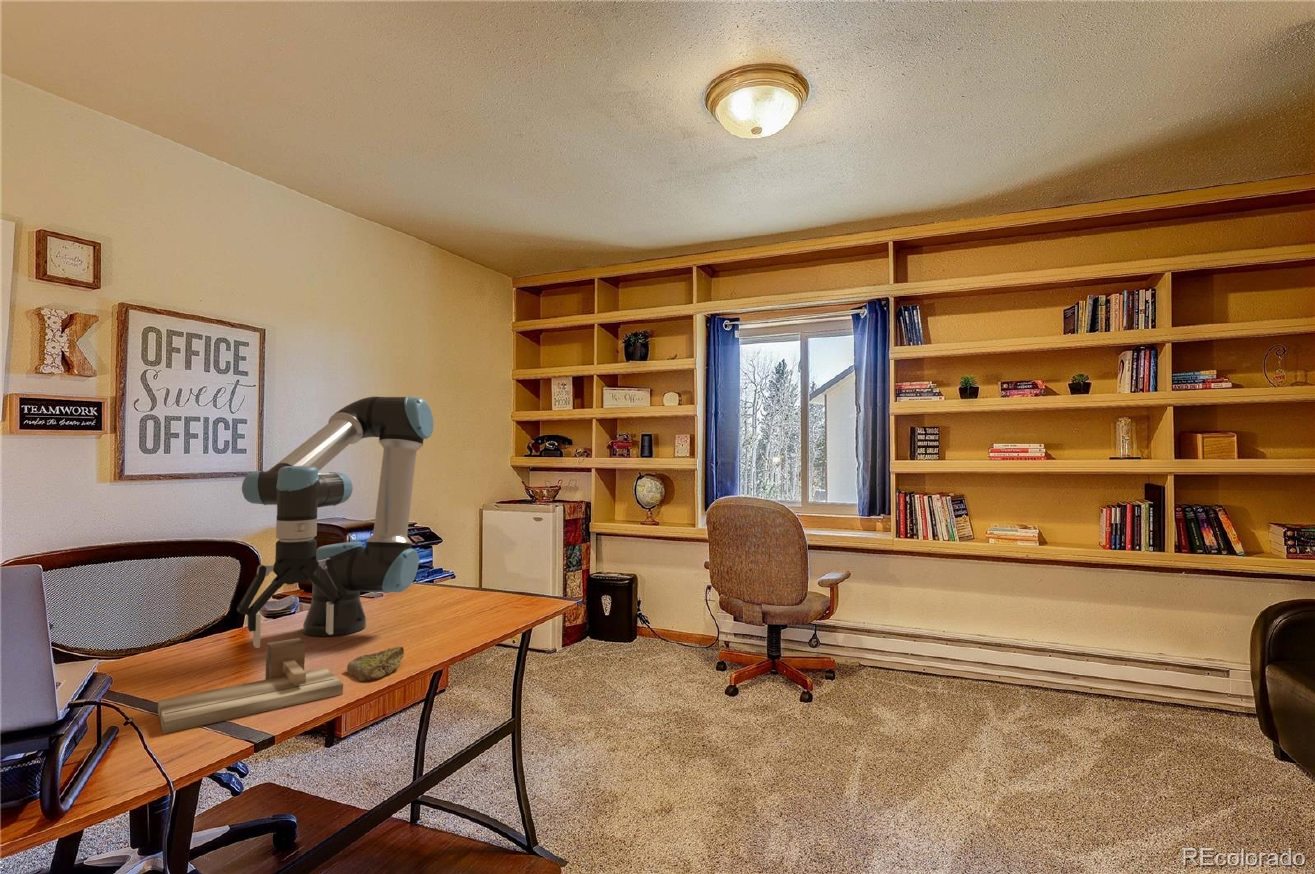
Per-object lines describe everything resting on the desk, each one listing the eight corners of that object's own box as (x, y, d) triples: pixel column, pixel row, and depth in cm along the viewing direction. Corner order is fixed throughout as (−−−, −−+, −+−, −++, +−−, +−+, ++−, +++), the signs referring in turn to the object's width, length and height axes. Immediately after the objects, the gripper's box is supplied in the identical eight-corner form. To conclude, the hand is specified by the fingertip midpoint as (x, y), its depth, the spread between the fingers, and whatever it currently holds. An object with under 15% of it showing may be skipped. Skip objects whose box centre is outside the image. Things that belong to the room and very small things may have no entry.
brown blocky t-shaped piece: (265, 681, 129) (267, 643, 129) (297, 675, 133) (299, 637, 133) (281, 704, 118) (283, 661, 118) (316, 696, 122) (318, 655, 122)
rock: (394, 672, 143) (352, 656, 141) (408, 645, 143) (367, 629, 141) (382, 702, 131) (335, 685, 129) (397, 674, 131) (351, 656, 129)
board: (157, 711, 113) (158, 700, 113) (325, 677, 132) (326, 667, 132) (163, 734, 104) (164, 721, 104) (342, 694, 123) (343, 683, 123)
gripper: (228, 547, 120) (225, 657, 120) (364, 536, 137) (362, 632, 137) (222, 542, 126) (220, 647, 125) (353, 531, 142) (351, 624, 142)
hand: (294, 639), depth 131 cm, fingers open, 13 cm apart
